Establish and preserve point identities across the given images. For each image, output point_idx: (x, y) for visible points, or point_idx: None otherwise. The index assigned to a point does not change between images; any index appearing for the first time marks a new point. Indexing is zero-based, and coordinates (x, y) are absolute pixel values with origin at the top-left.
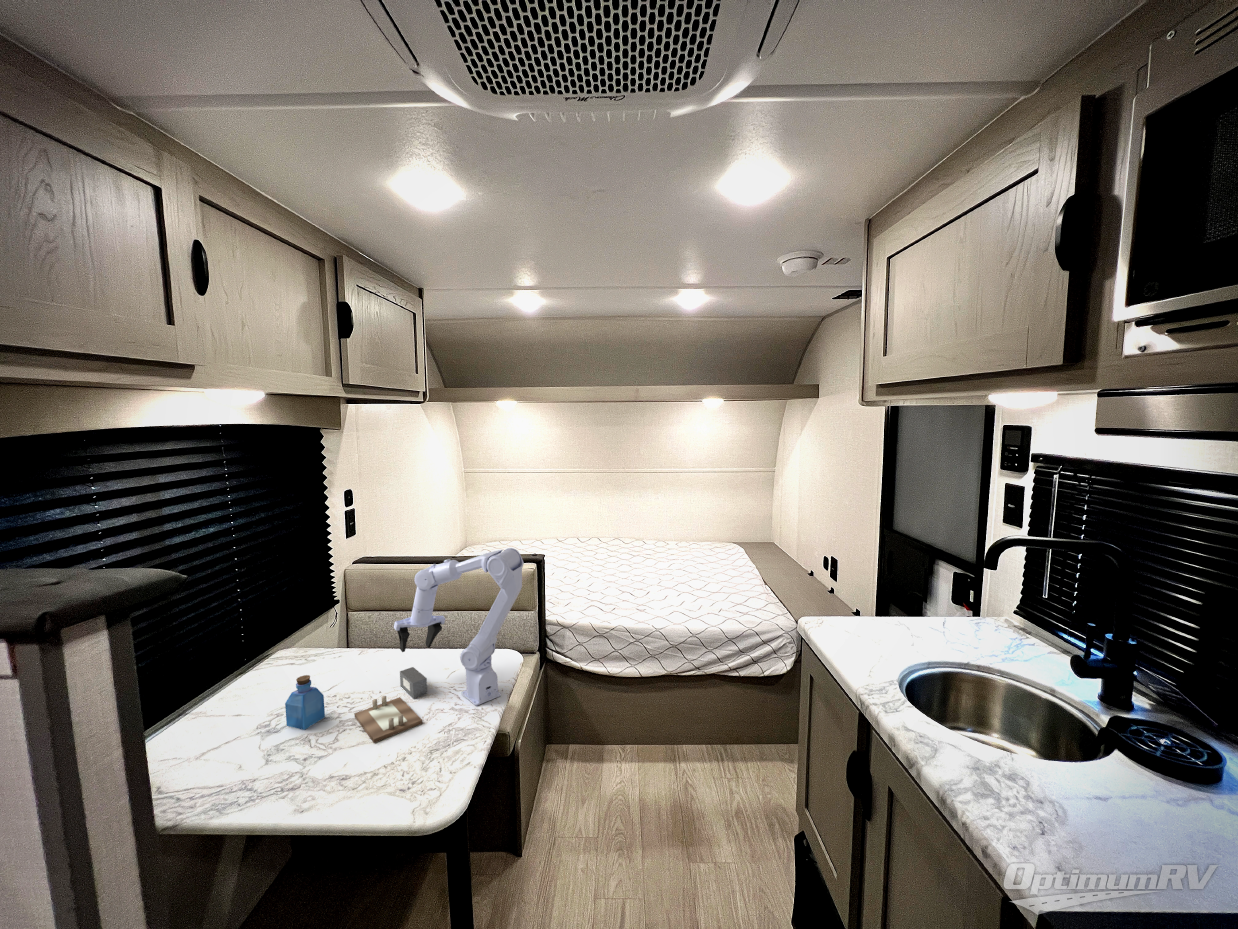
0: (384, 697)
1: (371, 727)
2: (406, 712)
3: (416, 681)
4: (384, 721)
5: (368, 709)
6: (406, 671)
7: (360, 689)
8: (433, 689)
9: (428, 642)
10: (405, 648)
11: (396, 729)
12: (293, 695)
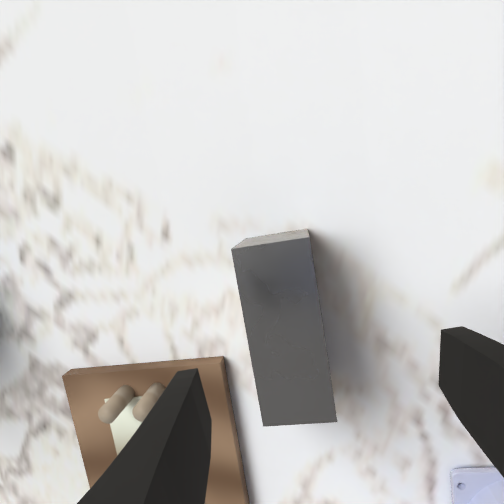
0: (142, 419)
1: None
2: (220, 488)
3: (282, 423)
4: None
5: (105, 380)
6: (262, 275)
7: (96, 155)
8: (363, 352)
9: (475, 415)
10: (207, 467)
11: None
12: None
